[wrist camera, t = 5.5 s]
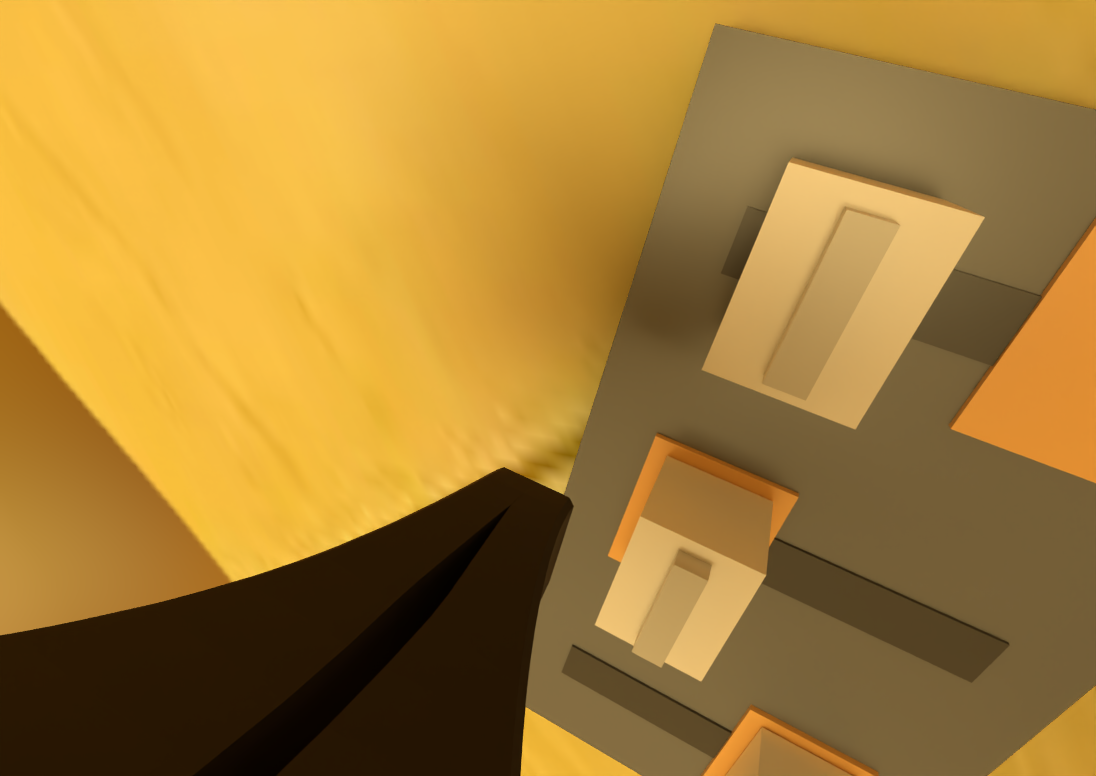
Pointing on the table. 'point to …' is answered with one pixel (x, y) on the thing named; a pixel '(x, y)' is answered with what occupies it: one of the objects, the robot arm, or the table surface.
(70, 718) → the robot arm
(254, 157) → the table surface
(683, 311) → the switch board
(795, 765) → the switch
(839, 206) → the switch
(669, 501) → the switch
